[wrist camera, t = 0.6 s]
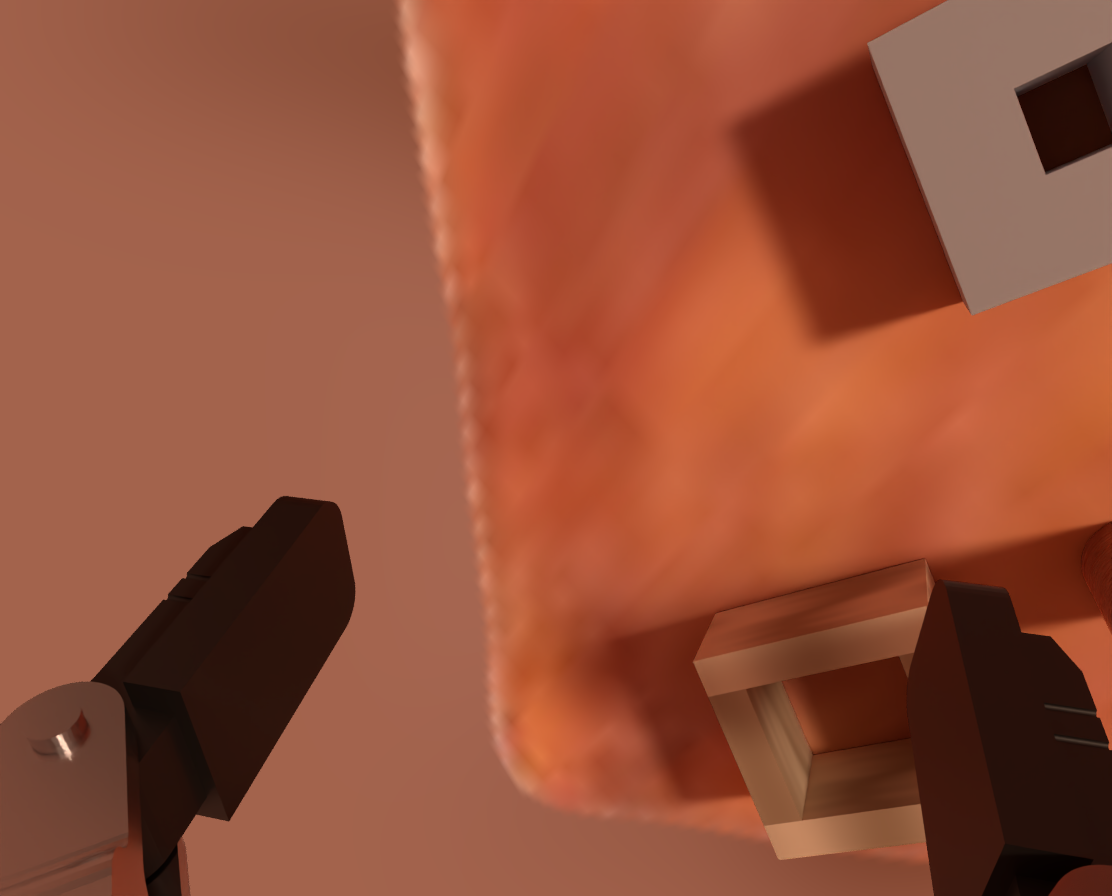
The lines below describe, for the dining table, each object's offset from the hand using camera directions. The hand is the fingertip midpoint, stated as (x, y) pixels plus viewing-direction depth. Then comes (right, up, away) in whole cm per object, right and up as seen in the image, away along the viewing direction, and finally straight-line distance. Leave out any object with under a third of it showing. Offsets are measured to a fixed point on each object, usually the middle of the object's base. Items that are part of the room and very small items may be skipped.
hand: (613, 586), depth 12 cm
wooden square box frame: (+10, -7, +20) cm, 24 cm away
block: (+14, +12, +14) cm, 23 cm away
